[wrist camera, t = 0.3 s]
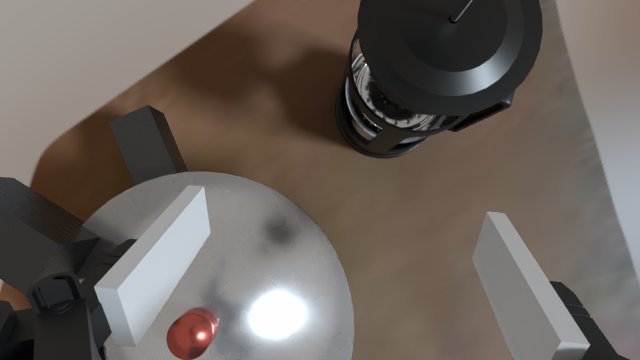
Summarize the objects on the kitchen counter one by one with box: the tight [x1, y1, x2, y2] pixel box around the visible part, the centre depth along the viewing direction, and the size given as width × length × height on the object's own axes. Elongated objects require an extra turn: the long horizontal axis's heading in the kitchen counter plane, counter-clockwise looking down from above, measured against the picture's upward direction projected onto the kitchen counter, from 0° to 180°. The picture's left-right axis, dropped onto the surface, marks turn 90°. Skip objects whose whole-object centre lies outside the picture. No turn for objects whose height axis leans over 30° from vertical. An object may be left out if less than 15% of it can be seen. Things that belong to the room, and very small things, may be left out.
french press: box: [335, 0, 543, 158], centre depth 22 cm, size 12×9×23 cm
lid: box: [0, 171, 354, 360], centre depth 20 cm, size 24×19×5 cm
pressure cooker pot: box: [109, 105, 313, 219], centre depth 28 cm, size 28×18×10 cm, turn 24°
